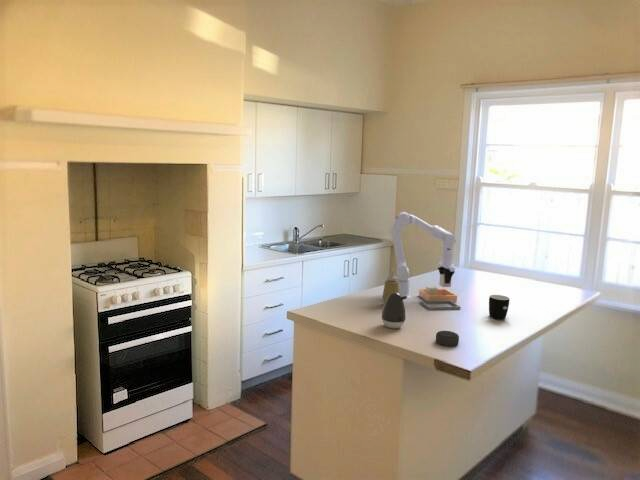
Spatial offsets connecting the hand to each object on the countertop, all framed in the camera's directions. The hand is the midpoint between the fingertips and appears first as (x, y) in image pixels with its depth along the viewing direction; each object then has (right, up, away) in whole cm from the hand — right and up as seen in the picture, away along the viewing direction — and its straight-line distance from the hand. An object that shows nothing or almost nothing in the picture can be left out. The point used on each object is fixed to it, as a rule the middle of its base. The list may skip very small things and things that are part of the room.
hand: (445, 282), depth 277 cm
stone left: (-7, -9, 0) cm, 11 cm away
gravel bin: (-4, -9, +1) cm, 10 cm away
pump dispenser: (-33, -16, -47) cm, 60 cm away
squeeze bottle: (-30, -10, -14) cm, 35 cm away
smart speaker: (-14, -19, -64) cm, 69 cm away
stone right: (0, -2, 0) cm, 2 cm away
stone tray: (-6, -11, -14) cm, 19 cm away
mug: (+19, -15, -25) cm, 35 cm away
